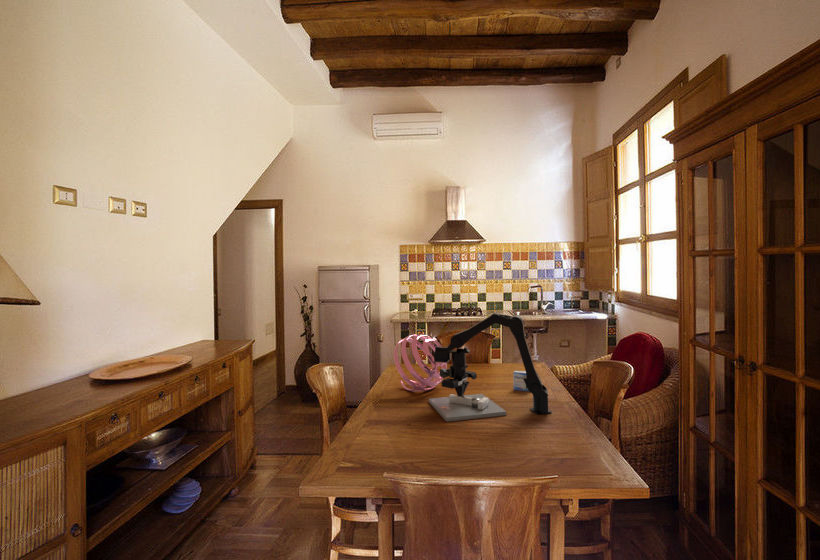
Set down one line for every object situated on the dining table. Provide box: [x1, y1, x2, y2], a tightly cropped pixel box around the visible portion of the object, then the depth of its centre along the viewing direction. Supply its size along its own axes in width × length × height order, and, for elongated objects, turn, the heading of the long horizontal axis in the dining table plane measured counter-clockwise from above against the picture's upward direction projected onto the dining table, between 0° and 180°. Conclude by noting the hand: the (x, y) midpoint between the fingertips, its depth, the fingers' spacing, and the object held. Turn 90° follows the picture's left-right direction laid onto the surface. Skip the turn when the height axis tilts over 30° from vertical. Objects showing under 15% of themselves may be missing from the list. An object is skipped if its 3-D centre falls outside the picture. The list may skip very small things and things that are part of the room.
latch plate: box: [428, 393, 507, 422], centre depth 179 cm, size 25×25×2 cm
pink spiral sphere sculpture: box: [393, 333, 448, 392], centre depth 209 cm, size 28×28×27 cm
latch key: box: [448, 393, 490, 410], centre depth 178 cm, size 16×7×3 cm, turn 58°
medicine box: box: [512, 370, 530, 393], centre depth 204 cm, size 8×4×9 cm, turn 62°
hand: (460, 399), depth 182 cm, fingers closed
